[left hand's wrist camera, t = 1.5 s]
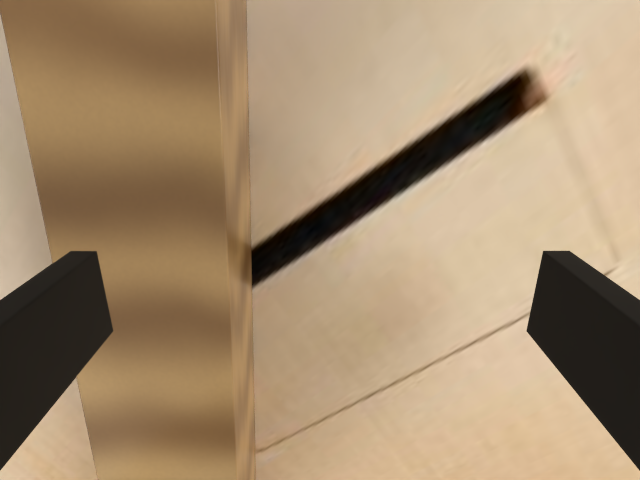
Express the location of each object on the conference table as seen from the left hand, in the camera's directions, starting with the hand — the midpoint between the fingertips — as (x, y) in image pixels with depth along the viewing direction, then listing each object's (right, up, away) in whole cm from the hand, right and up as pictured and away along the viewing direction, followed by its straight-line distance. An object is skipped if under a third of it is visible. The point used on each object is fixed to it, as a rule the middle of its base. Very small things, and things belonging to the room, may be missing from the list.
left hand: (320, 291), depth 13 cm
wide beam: (-10, -7, +20) cm, 23 cm away
